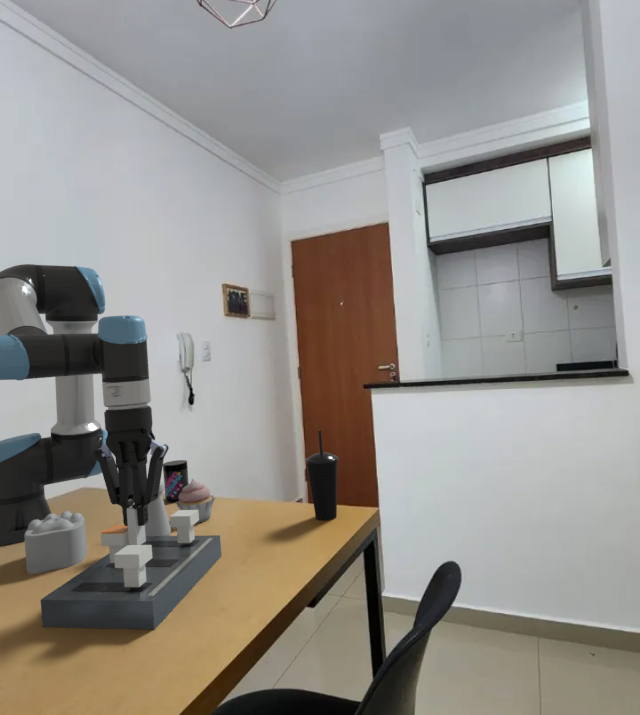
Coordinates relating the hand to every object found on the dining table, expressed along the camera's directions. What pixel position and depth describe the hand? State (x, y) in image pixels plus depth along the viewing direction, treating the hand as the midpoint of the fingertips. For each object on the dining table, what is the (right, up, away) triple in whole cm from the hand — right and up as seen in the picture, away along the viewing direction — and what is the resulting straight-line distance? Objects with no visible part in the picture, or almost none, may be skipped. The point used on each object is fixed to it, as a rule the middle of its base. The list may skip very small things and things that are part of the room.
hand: (137, 544), depth 82 cm
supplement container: (-9, -9, +54) cm, 56 cm away
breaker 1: (+3, -2, -9) cm, 10 cm away
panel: (+1, -7, 0) cm, 7 cm away
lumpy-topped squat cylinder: (-22, -9, +16) cm, 29 cm away
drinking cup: (+33, -5, +29) cm, 44 cm away
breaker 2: (+6, -2, +7) cm, 10 cm away
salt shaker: (-3, -8, +20) cm, 22 cm away
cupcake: (+1, -8, +34) cm, 35 cm away
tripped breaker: (-3, -3, 0) cm, 4 cm away
